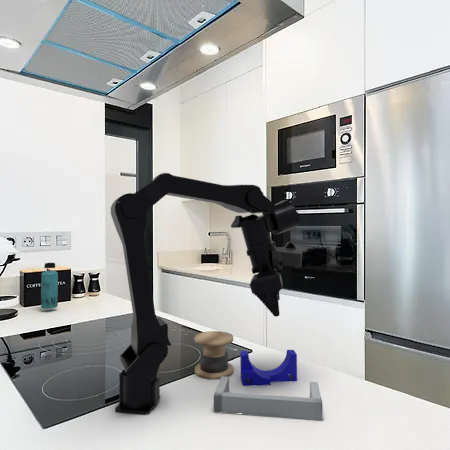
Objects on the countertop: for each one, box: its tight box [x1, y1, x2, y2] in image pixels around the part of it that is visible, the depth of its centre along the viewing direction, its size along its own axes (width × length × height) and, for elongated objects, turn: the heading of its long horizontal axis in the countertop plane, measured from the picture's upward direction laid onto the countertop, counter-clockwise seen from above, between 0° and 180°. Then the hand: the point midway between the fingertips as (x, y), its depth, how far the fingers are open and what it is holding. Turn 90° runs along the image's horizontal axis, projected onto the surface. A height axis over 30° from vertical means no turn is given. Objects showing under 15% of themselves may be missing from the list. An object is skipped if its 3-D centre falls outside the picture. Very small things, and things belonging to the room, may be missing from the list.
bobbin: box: [194, 330, 234, 380], centre depth 83 cm, size 9×9×8 cm
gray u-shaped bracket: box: [213, 376, 324, 421], centre depth 67 cm, size 19×8×3 cm, turn 81°
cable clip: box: [239, 349, 298, 387], centre depth 77 cm, size 12×4×6 cm, turn 93°
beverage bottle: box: [40, 262, 59, 310], centre depth 148 cm, size 6×7×20 cm
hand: (277, 307), depth 80 cm, fingers open, 9 cm apart
